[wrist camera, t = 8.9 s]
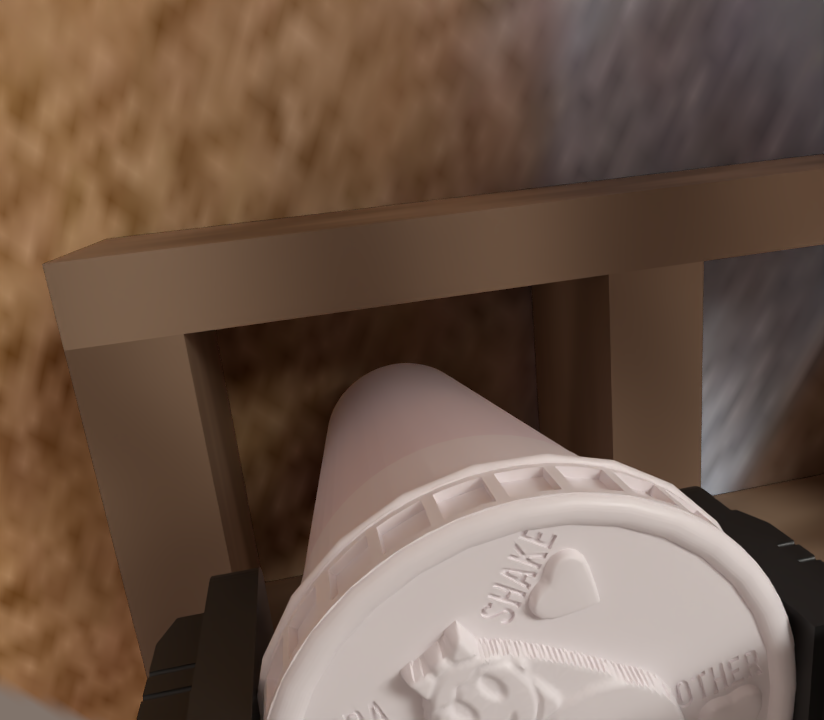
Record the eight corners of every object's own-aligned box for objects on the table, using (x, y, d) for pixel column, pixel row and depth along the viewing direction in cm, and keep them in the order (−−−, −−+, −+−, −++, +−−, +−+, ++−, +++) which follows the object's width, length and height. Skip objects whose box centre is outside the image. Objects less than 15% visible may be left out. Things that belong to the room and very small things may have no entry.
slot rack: (944, 139, 19) (1136, 130, 15) (906, 500, 22) (1056, 579, 18) (106, 239, 16) (42, 264, 12) (198, 645, 19) (174, 784, 15)
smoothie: (395, 600, 18) (714, 1811, 5) (209, 440, 16) (-144, 1755, 3) (578, 432, 18) (1471, 1225, 4) (411, 247, 16) (1124, 683, 2)
